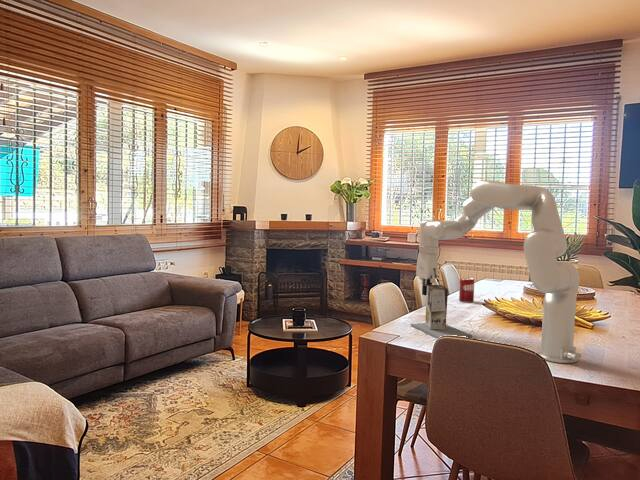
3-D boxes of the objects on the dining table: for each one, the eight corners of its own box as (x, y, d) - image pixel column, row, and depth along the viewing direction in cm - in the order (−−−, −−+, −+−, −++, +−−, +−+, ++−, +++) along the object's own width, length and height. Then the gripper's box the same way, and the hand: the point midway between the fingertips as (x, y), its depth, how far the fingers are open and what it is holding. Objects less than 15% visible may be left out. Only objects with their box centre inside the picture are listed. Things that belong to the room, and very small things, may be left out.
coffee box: (446, 330, 195) (448, 289, 193) (429, 329, 195) (432, 289, 193) (440, 323, 204) (442, 284, 202) (424, 323, 204) (426, 284, 202)
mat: (472, 337, 188) (472, 335, 187) (439, 339, 183) (439, 337, 183) (440, 323, 208) (440, 321, 208) (410, 325, 204) (410, 323, 204)
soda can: (456, 300, 261) (457, 277, 260) (468, 300, 263) (469, 277, 262) (464, 303, 254) (465, 279, 253) (476, 302, 256) (477, 279, 256)
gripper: (411, 248, 210) (409, 291, 211) (429, 252, 196) (427, 298, 197) (427, 248, 212) (425, 291, 213) (446, 252, 198) (444, 298, 199)
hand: (426, 294), depth 205 cm, fingers closed
